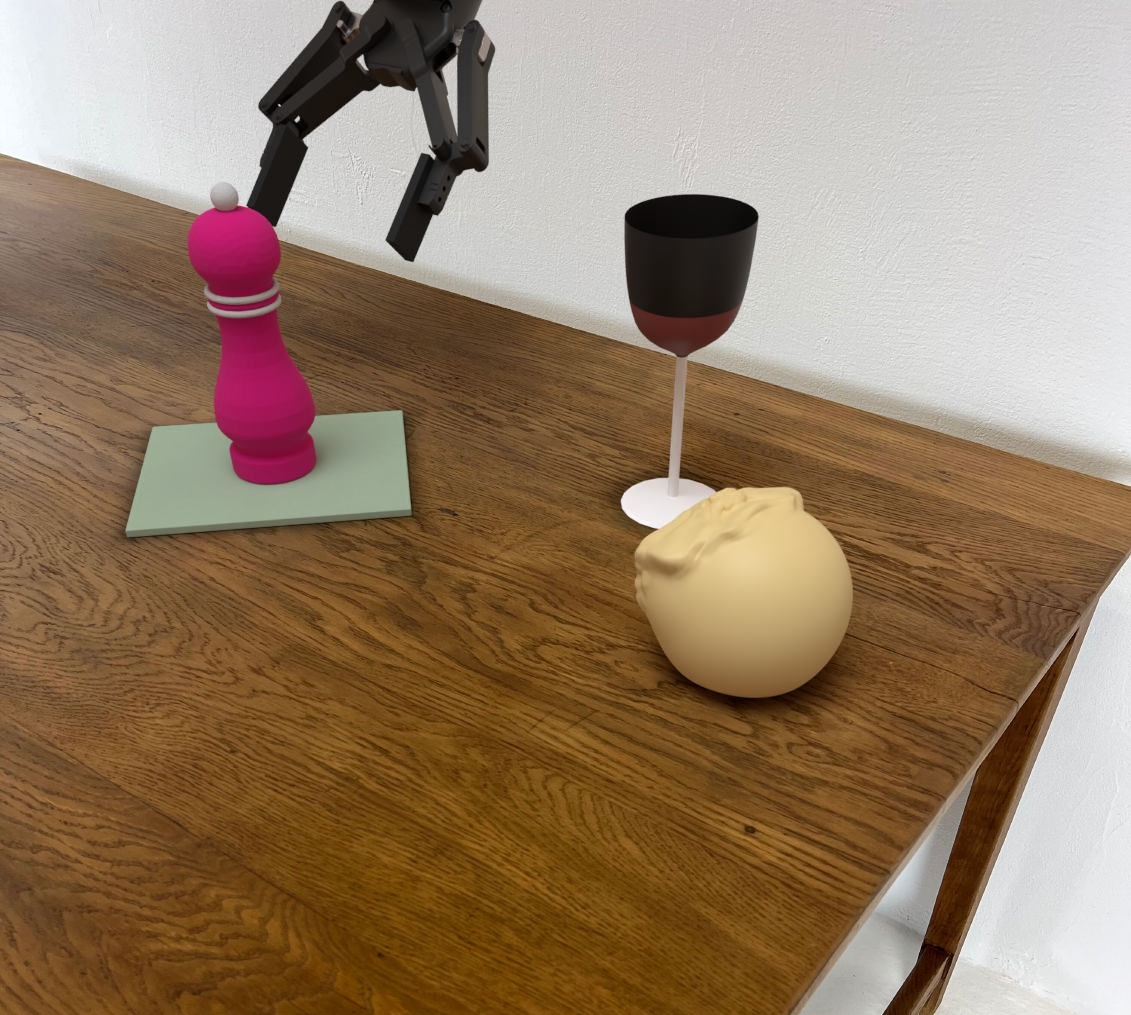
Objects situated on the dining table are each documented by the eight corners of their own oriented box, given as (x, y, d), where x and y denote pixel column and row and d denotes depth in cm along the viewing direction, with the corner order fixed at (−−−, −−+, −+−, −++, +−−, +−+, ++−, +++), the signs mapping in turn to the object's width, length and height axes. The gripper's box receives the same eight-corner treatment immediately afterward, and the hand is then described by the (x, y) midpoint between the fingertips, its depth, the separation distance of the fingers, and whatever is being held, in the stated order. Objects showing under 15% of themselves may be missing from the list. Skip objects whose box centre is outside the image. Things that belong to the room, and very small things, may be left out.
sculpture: (729, 583, 76) (745, 433, 69) (875, 666, 69) (911, 510, 62) (603, 653, 70) (606, 497, 63) (749, 750, 64) (772, 589, 56)
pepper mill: (293, 433, 91) (245, 159, 77) (341, 467, 86) (299, 184, 73) (210, 461, 87) (144, 180, 74) (255, 498, 83) (195, 207, 70)
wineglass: (751, 498, 84) (785, 211, 71) (678, 546, 79) (701, 248, 66) (666, 463, 88) (683, 185, 75) (592, 507, 83) (596, 218, 70)
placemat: (127, 537, 80) (125, 530, 80) (154, 433, 92) (152, 426, 92) (411, 516, 82) (411, 508, 82) (402, 416, 94) (402, 409, 94)
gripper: (604, 14, 81) (487, 294, 82) (341, -20, 91) (240, 229, 92) (562, -68, 74) (435, 238, 75) (283, -95, 84) (174, 174, 85)
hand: (327, 234), depth 84 cm, fingers open, 13 cm apart
